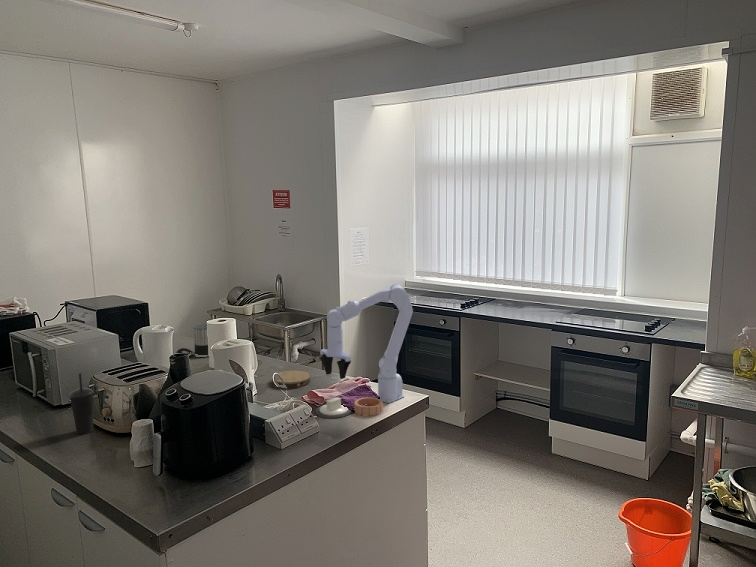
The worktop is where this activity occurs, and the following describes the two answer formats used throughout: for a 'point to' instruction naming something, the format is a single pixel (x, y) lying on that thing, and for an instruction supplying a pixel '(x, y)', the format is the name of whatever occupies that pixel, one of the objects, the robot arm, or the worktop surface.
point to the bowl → (368, 406)
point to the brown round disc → (293, 379)
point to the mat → (331, 416)
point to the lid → (333, 407)
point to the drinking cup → (82, 408)
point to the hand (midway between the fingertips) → (335, 376)
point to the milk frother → (199, 340)
